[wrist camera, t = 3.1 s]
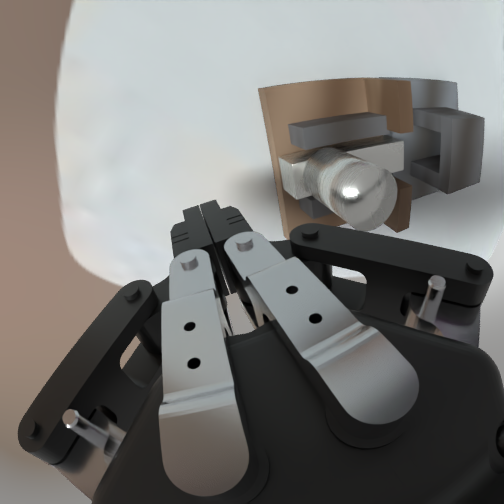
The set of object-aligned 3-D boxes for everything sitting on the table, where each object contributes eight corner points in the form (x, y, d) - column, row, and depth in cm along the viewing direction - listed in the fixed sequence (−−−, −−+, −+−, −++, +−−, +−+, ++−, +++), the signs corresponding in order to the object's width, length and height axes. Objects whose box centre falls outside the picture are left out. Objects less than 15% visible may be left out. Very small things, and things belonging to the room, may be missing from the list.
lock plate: (448, 81, 17) (493, 90, 13) (447, 181, 22) (485, 202, 18) (257, 88, 14) (296, 87, 10) (284, 235, 20) (318, 276, 16)
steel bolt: (384, 128, 16) (452, 150, 12) (386, 168, 18) (448, 200, 13) (277, 148, 15) (333, 178, 10) (284, 196, 17) (336, 243, 12)
